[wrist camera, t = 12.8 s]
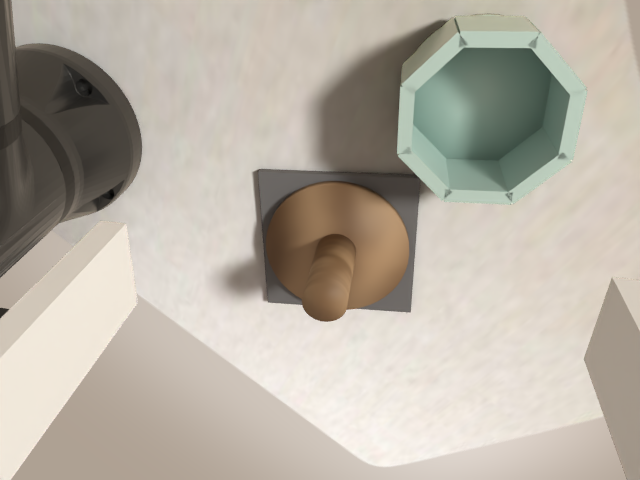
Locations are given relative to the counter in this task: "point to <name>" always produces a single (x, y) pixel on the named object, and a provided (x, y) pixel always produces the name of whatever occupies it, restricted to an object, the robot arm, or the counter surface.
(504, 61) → the bowl
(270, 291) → the mat
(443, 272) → the counter surface
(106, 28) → the counter surface
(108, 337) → the robot arm
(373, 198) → the lid
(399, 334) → the counter surface
